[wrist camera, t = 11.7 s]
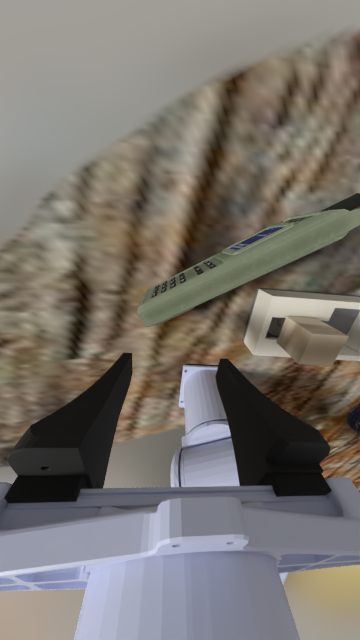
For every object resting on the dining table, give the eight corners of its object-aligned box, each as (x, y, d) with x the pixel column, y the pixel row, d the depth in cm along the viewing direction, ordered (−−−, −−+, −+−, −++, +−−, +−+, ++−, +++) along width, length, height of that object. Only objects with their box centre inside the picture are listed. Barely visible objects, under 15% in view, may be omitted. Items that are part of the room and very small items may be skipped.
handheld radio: (143, 287, 21) (346, 184, 17) (155, 308, 23) (346, 217, 19) (131, 306, 15) (437, 155, 11) (149, 333, 17) (427, 207, 13)
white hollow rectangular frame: (370, 297, 22) (404, 306, 19) (341, 346, 26) (366, 361, 22) (257, 288, 22) (272, 295, 18) (242, 340, 25) (253, 355, 21)
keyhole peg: (287, 332, 24) (333, 369, 17) (258, 330, 24) (292, 367, 17) (299, 304, 22) (356, 332, 15) (267, 301, 22) (309, 329, 15)
